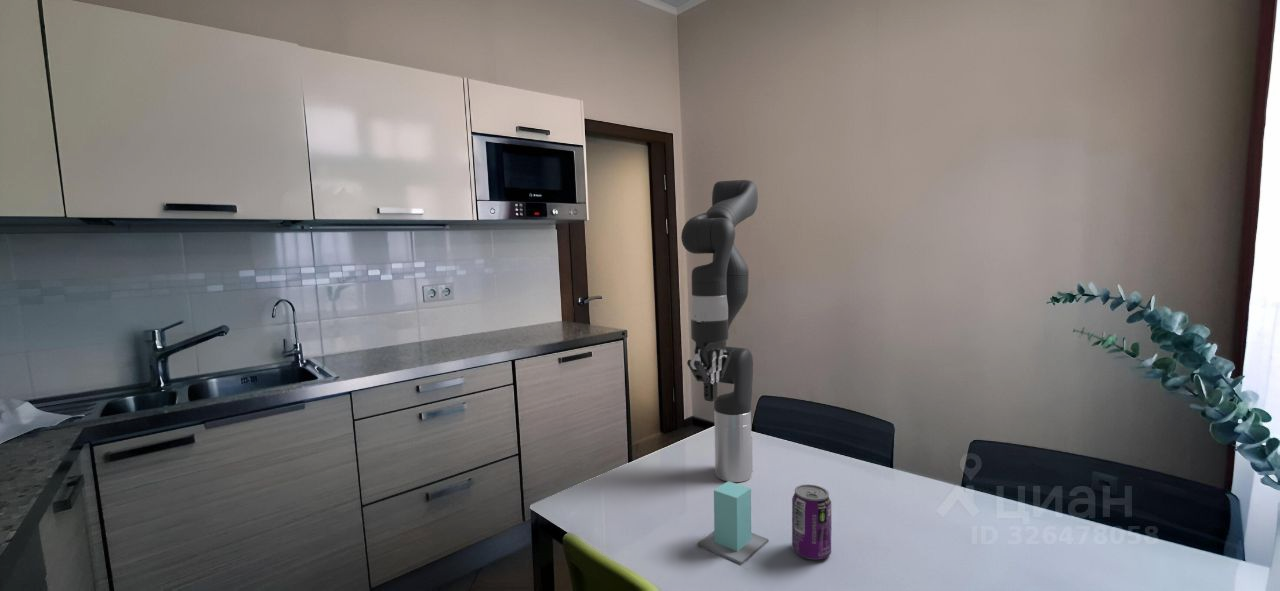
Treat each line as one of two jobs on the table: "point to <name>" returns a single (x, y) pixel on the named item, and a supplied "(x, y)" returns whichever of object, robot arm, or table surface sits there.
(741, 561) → the post
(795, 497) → the beverage can
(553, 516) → the table surface
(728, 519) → the tall teal block
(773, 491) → the table surface
